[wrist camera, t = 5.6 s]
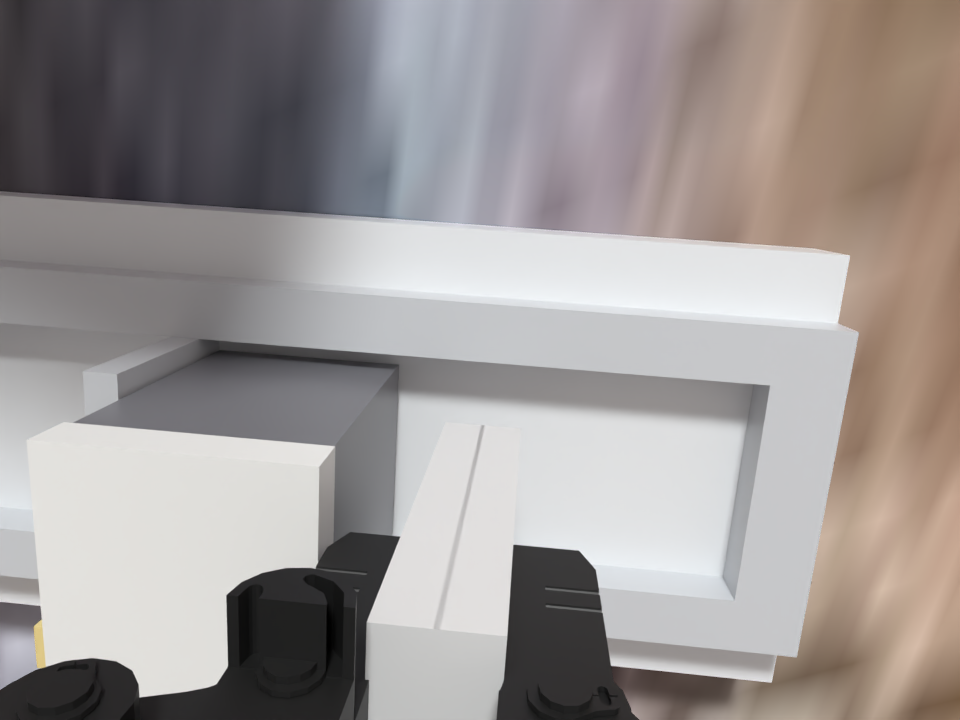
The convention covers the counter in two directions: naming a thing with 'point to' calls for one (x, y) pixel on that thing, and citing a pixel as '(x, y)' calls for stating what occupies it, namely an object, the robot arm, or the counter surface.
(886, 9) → the counter surface
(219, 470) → the tab
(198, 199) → the counter surface
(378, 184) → the counter surface
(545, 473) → the switch bank
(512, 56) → the counter surface
